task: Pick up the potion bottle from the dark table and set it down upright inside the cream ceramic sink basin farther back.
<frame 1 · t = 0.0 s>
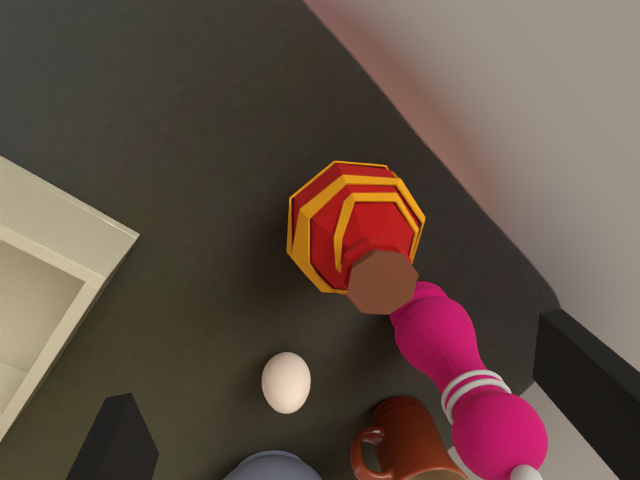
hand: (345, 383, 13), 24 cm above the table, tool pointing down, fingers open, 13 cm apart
mug: (384, 410, 47), on the table
bowl: (270, 474, 49), on the table
egg: (284, 357, 42), on the table
potion bottle: (337, 202, 35), on the table
pepper mill: (416, 305, 41), on the table
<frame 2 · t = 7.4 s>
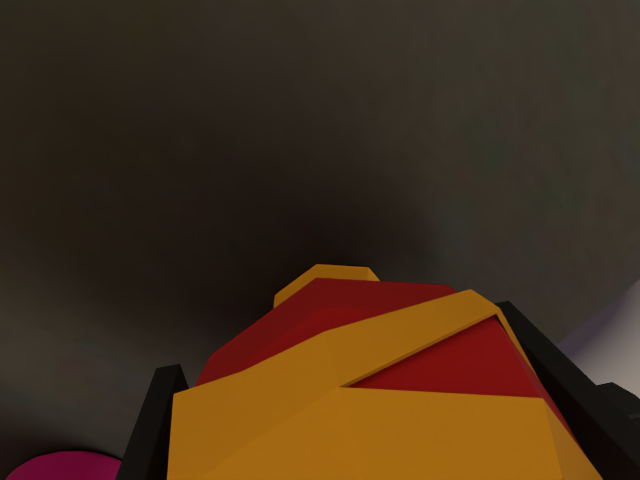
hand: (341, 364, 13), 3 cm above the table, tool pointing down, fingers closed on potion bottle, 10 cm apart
potion bottle: (329, 317, 16), on the table, touching gripper
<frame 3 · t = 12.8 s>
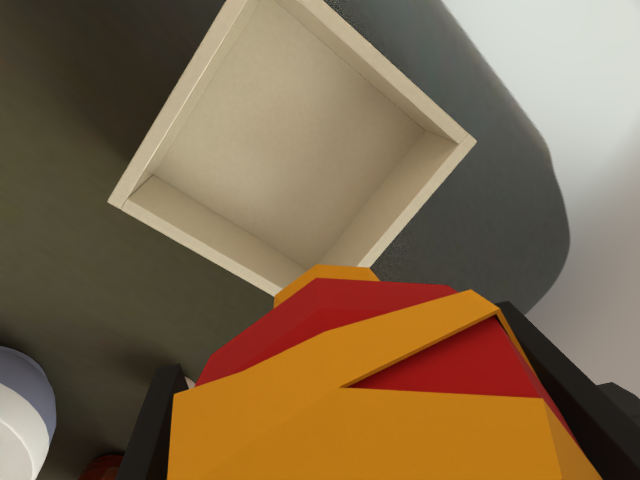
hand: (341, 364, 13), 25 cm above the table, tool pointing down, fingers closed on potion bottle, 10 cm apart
mug: (119, 460, 48), on the table
bowl: (1, 378, 41), on the table
potion bottle: (329, 317, 16), point 22 cm above the table, touching gripper
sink: (291, 149, 35), on the table
when the fingers open (4 cm above the table, at t = 18.2 s): potion bottle stays where it is, resting on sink.
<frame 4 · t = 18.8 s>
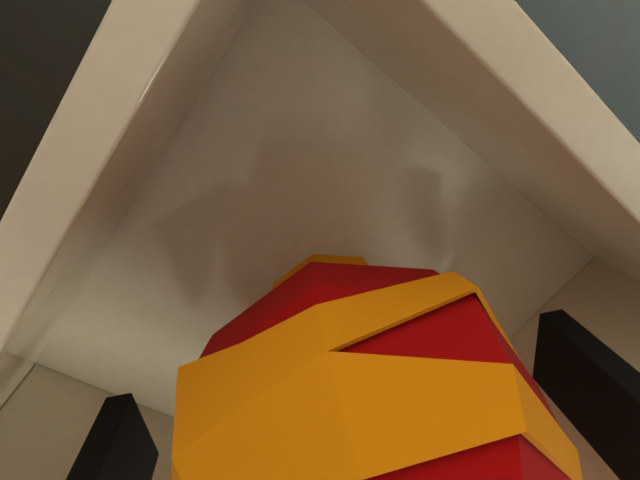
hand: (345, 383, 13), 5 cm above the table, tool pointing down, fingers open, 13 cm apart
potion bottle: (325, 305, 17), point 1 cm above the table, touching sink
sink: (322, 295, 17), on the table
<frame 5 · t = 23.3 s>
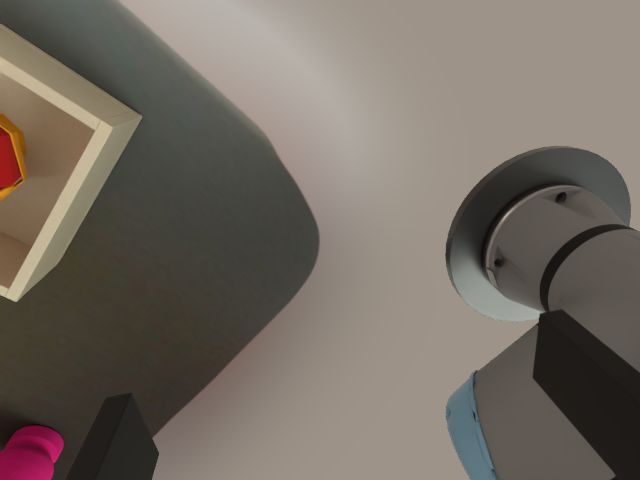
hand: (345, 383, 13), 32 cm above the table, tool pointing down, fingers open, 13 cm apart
pepper mill: (39, 440, 52), on the table
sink: (0, 138, 37), on the table
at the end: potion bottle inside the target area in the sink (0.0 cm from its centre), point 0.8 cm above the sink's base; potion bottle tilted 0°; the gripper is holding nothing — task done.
